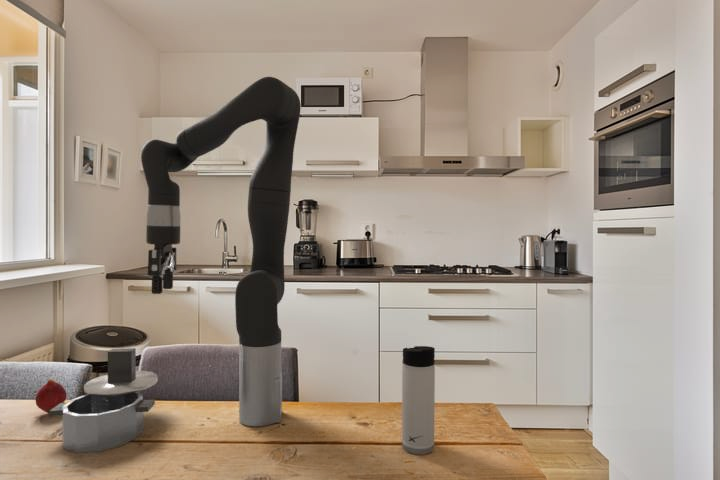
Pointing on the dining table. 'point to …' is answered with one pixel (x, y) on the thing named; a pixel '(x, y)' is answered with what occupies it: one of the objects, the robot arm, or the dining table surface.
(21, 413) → the dining table surface
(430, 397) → the travel mug
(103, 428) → the pot
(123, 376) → the lid
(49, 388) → the onion
